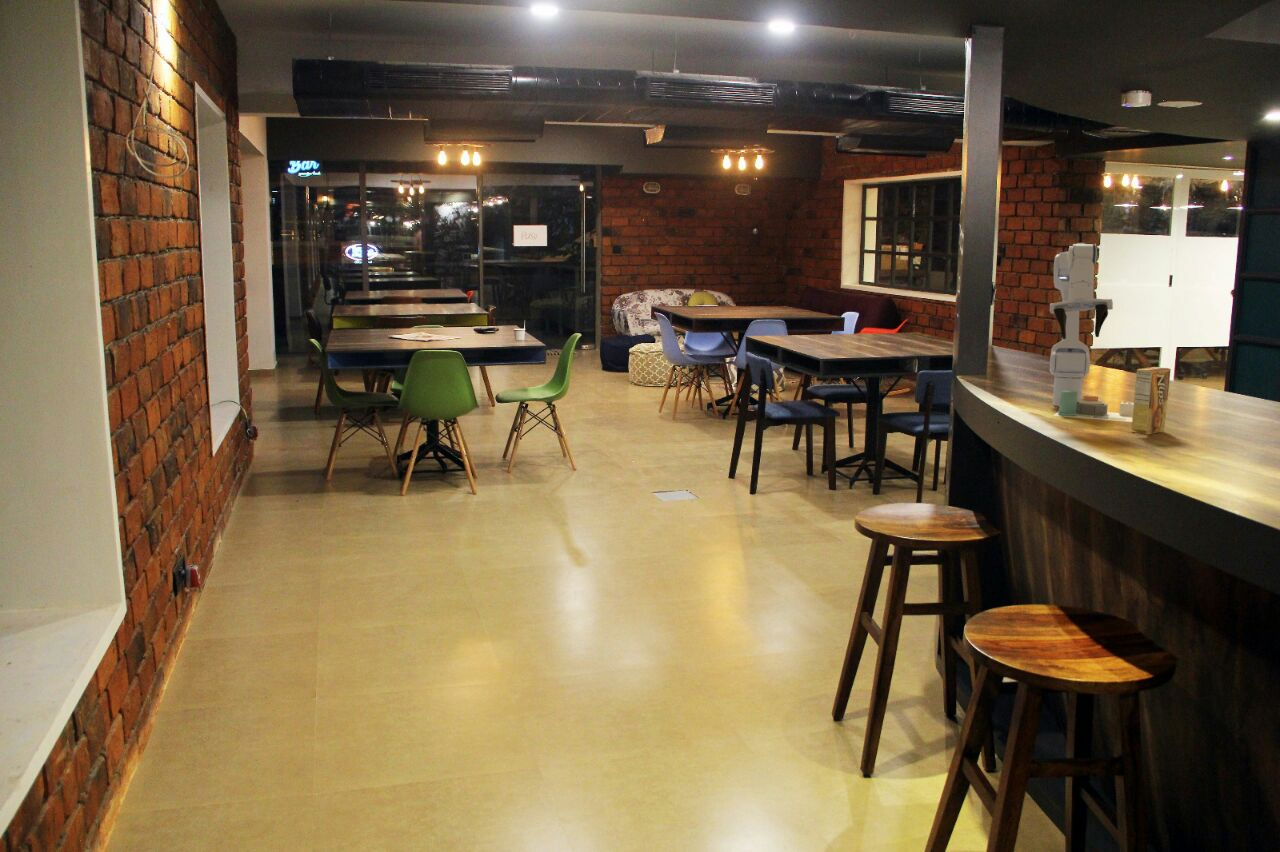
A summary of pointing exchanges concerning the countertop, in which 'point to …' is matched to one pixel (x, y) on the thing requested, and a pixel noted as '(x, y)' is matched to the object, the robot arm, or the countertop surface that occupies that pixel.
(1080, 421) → the countertop surface
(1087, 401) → the dome button
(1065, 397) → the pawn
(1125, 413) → the game board
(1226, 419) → the countertop surface
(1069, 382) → the robot arm
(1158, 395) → the candy box
